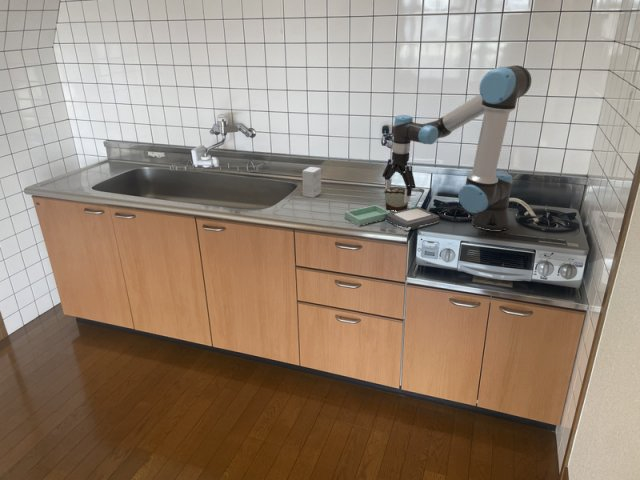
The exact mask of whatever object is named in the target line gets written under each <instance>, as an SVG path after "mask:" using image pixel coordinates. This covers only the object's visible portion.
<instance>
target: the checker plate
mask: <svg viewBox="0 0 640 480" xmlns="http://www.w3.org/2000/svg"><path fill="white" fill-rule="evenodd" d="M394 216H396V217H398V218H400V219H402V220H404V221H406V222H411V221H414V220H418V219H422V218H426V217H430V216H431V215H430V214H428V213H426V212H424V211H422V210H419V209H413V210H408V211H404V212H400V213H396V214H394Z"/></svg>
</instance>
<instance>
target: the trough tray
mask: <svg viewBox="0 0 640 480" xmlns="http://www.w3.org/2000/svg"><path fill="white" fill-rule="evenodd" d="M388 213H392V211H388V210H386V208H384V207H382V206H379V205H378V204H373V205H369V206H365V207H361V208H360V207H359V208H356V209H351V210H347V211H344V219H345V218H346V219H345V220H347V219H348V220H347V221H349V220H350V221H349V222H351V221H352V222H354V223H356V224H358V225H363V224H367V223H371V224H373V223H372V222H375V223H377V222H376V221H379V222H381V221H380V220H383V221H385V220H384V219H385V217H386V214H388ZM352 222H351V223H352ZM354 223H353V224H354ZM356 224H355V225H356ZM358 225H357V226H358ZM367 225H368V224H367ZM363 226H364V225H363Z"/></svg>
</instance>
